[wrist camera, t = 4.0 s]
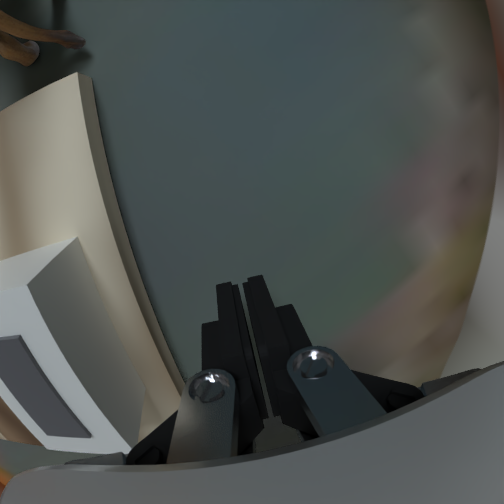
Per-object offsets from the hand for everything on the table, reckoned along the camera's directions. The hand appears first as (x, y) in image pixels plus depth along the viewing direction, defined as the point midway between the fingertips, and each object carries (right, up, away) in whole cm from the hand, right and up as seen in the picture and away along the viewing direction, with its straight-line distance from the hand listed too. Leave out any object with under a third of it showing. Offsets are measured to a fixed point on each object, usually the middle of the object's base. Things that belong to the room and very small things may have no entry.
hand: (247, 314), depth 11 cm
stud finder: (-8, -1, +1) cm, 8 cm away
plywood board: (-15, -2, +2) cm, 15 cm away
